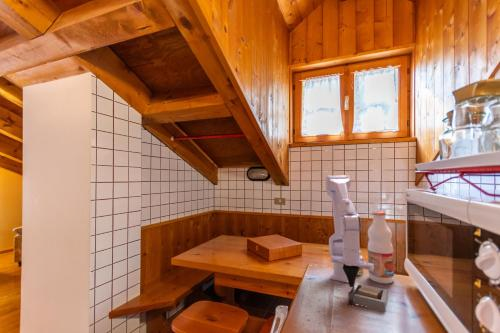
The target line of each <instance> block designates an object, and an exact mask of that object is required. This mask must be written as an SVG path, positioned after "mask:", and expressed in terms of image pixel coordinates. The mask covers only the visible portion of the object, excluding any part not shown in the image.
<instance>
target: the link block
mask: <svg viewBox="0 0 500 333" xmlns="http://www.w3.org/2000/svg"><path fill="white" fill-rule="evenodd" d="M362 285H363V286H362V287H361V288H360V289H359V290H358V295H362V296H366V297H371V298H375V299H379V300H381V290H379V289H375V288H371V287H367V286H368V285H367V286H364V285H365V284H362Z"/></svg>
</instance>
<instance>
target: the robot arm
mask: <svg viewBox="0 0 500 333" xmlns="http://www.w3.org/2000/svg"><path fill="white" fill-rule="evenodd" d="M350 188H351V178H350V176H349V175H348V174H346V175H329V174H328V175H326V176H325V190H326V195H327V196H329V197H330V198H331V201H332V203H331V204H332V213H333V225H334V226H333V227H334V233H333V234H331V236H330V237H329V238H328V250H329V255H330V256H331V257H330V263H332V265H333V266H332V268H333V272H332V273H333V274H332V276H330V280H333V281H338V282H344V283H348V285H349V286H348V287H350V288H353V287H354V285H355V283H356V278H357V276H358V275H357V273H358V271H359V269H360V268H363V270H368V271H369V270H370V271H373V270H374V264H372V263H368V262H367V261H365V260H363V261H362V260H360V256H361V255H360V251H361V250H360V248H361V247H360V232H361V230H362V221H361V216H360V214H358V212H356V209H355V208H356V207H355V206H354V202H353V201H352V200H350V199H349V192H350Z"/></svg>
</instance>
